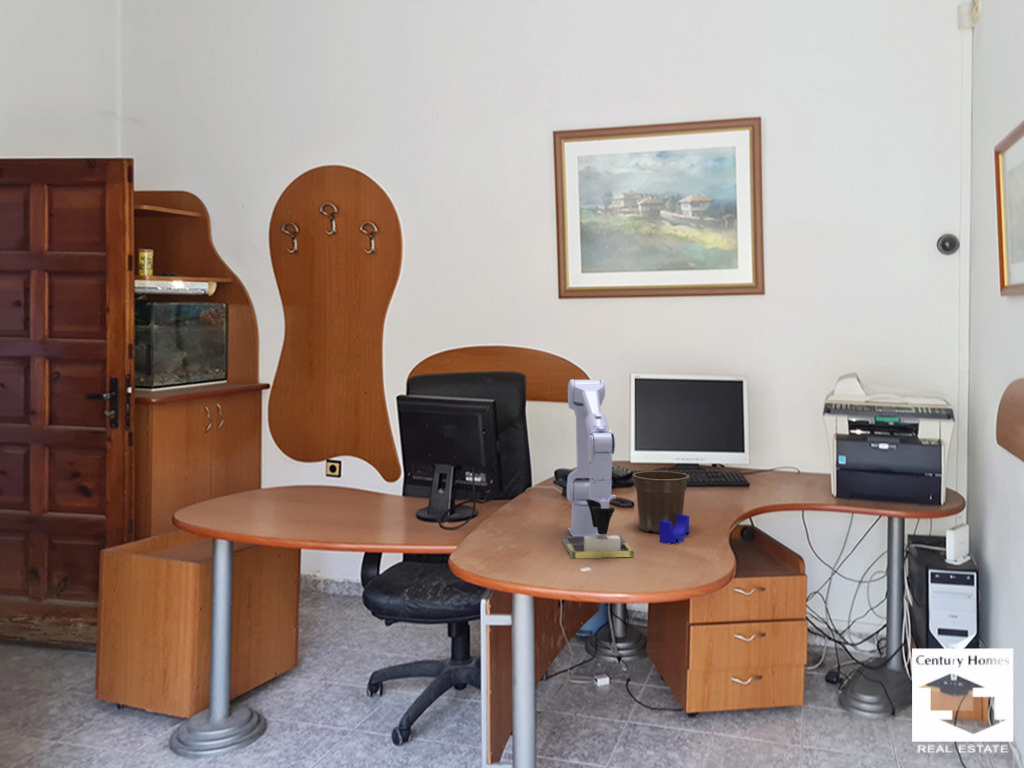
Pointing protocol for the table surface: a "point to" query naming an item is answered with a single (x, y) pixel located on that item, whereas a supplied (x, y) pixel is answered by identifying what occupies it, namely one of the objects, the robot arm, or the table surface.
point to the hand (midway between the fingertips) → (599, 530)
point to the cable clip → (678, 533)
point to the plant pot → (659, 497)
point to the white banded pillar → (601, 543)
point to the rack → (595, 554)
